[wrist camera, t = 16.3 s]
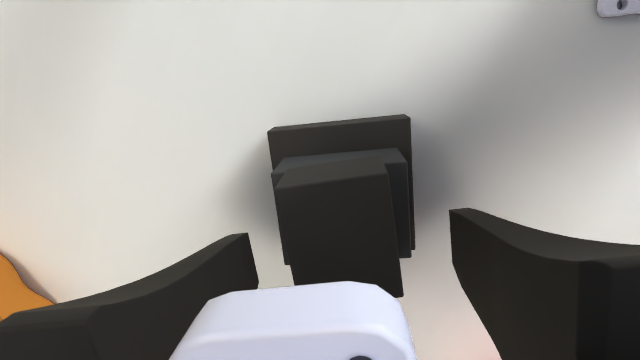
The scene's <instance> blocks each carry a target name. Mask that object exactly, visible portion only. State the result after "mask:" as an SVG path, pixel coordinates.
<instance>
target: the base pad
mask: <svg viewBox="0 0 640 360" xmlns="http://www.w3.org/2000/svg"><path fill="white" fill-rule="evenodd" d="M267 135H268V141H269V148H270V155H271V161H272V168H273V171H274V169H275V168H276V167H277V166H278V164H279V163H280V162H281V161H282V159H283V158H286V157H297V156H308V155H319V154H330V153H341V152H352V151H363V150H374V149H385V148H398V150H399V151H400V152H401V154H402V155H403V157H404V158H405V160H406V161H407V165H408V189H409V212H410V235H411V250H415V228H414V202H413V177H412V151H411V126H410V117H408V116H407V115H405V114H402V115H392V116H382V117H372V118H362V119H352V120H342V121H332V122H322V123H312V124H302V125H292V126H282V127H274V128H272V129H271V130H269V131H268V132H267Z"/></svg>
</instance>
